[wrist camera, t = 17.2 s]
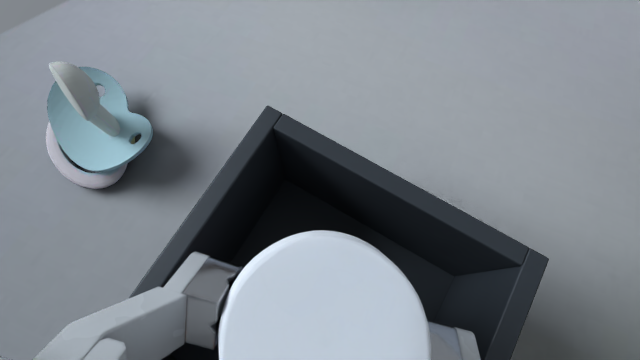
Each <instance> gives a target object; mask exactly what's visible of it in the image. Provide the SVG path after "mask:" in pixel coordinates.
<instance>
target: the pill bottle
mask: <svg viewBox="0 0 640 360" xmlns="http://www.w3.org/2000/svg"><path fill="white" fill-rule="evenodd" d="M218 346H219V360H431V339H430V331H429V325H428V322H427V318H426V315H425V312H424V309H423V305H422V303H421V301H420V298H419V296H418V294H417V293H416V291H415V289H414V288H413V286H412V284H411V283H410V282H409V280H408V279H407V277H406V276H405V275H404V274H403V272H402V271H401V270H400V269H399V268H398V267H397V266H396V265H395V264H394V263H393V262H392V261H391V260H389V259H388V258H387V257H386V256H385V255H384V254H383V253H382V252H380V251H379V250H378V249H376V248H375V247H374V246H372V245H371V244H369V243H367V242H365V241H363V240H361V239H359V238H357V237H354V236H352V235H348V234H345V233H341V232H335V231H326V230H315V231H308V232H302V233H298V234H294V235H291V236H289V237H286V238H284V239H281V240H280V241H278V242H276V243H274V244H272V245H271V246H269V247H267V248H266V249H264V250H263V251H262V252H260V253H259V254H258V255H256V256H255V257H254V258H253V259H252V260H251V261H250V262H249V263H248V264H247V265H246V266H245V267H244V269H243V270H242V271H241V272H240V274H239V275H238V277H237V278H236V280H235V281H234V283H233V285H232V287H231V289H230V291H229V293H228V295H227V298H226V300H225V303H224V306H223V310H222V314H221V318H220V324H219V334H218Z"/></svg>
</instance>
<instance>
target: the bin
mask: <svg viewBox="0 0 640 360" xmlns="http://www.w3.org/2000/svg"><path fill="white" fill-rule="evenodd" d="M315 230H326V231H335V232H341V233H345V234H348V235H352V236H354V237H357V238H359V239H361V240H363V241H365V242H367V243H369V244H371V245H372V246H374V247H375V248H376V249H378V250H379V251H380V252H382V253H383V254H384V255H385V256H386V257H387V258H388V259H389V260H391V261H392V262H393V263H394V264H395V265H396V266H397V267H398V268H399V269H400V270H401V271H402V272H403V274H404V275H405V276H406V277H407V279H408V280H409V282H410V283H411V284H412V286H413V288H414V289H415V291H416V293H417V294H418V296H419V298H420V301H421V303H422V305H423V309H424V312H425V315H426V318H427V320H431V321H435V322H438V323H442V324H445V325H449V326H452V327H457V328H460V329H464V330H467V331H471V332H473V334H474V335H475V338H476V342H477V346H478V350H479V354H480V358H481V360H510V358H511V356H512V353H513V351H514V348H515V345H516V343H517V340H518V338H519V335H520V333H521V330H522V327H523V325H524V322H525V320H526V317H527V315H528V312H529V309H530V307H531V304H532V302H533V299H534V297H535V294H536V291H537V289H538V286H539V284H540V281H541V278H542V276H543V273H544V271H545V268H546V266H547V263H548V260H549V259H548V258H547V257H545V256H543V255H542V254H540V253H538V252H536V251H534V250H532V249H530V248H529V247H527V246H525V245H523V244H522V243H520V242H518V241H516V240H514V239H512V238H511V237H509V236H507V235H505V234H503V233H501V232H500V231H498V230H496V229H494V228H492V227H490V226H489V225H487V224H485V223H483V222H481V221H479V220H478V219H476V218H474V217H472V216H470V215H468V214H467V213H465V212H463V211H461V210H459V209H457V208H456V207H454V206H452V205H450V204H448V203H446V202H445V201H443V200H441V199H439V198H437V197H435V196H434V195H432V194H430V193H428V192H426V191H424V190H423V189H421V188H419V187H417V186H415V185H413V184H412V183H410V182H408V181H406V180H404V179H402V178H401V177H399V176H397V175H395V174H393V173H391V172H390V171H388V170H386V169H384V168H382V167H380V166H379V165H377V164H375V163H373V162H371V161H369V160H368V159H366V158H364V157H362V156H360V155H358V154H357V153H355V152H353V151H351V150H349V149H347V148H346V147H344V146H342V145H340V144H338V143H336V142H335V141H333V140H331V139H329V138H327V137H325V136H324V135H322V134H320V133H318V132H316V131H314V130H313V129H311V128H309V127H307V126H305V125H303V124H302V123H300V122H298V121H296V120H294V119H292V118H291V117H289V116H287V115H285V114H283V115H282V113H281V112H279V111H277V110H275V109H273V108H272V107H270V106H266V108H265V109H264V111H263V112H262V113H261V115H260V116H259V117H258V119H257V120H256V122H255V123H254V124H253V126H252V127H251V129H250V130H249V131H248V133H247V134H246V136H245V137H244V138H243V140H242V141H241V143H240V144H239V145H238V147H237V148H236V150H235V151H234V152H233V154H232V155H231V156H230V158H229V159H228V161H227V162H226V163H225V165H224V166H223V168H222V169H221V170H220V172H219V173H218V175H217V176H216V177H215V179H214V180H213V182H212V183H211V184H210V186H209V187H208V189H207V190H206V191H205V193H204V194H203V195H202V197H201V198H200V200H199V201H198V202H197V204H196V205H195V207H194V208H193V209H192V211H191V212H190V214H189V215H188V216H187V218H186V219H185V221H184V222H183V223H182V225H181V226H180V228H179V229H178V230H177V232H176V233H175V234H174V236H173V237H172V239H171V240H170V241H169V243H168V244H167V246H166V247H165V248H164V250H163V251H162V253H161V254H160V255H159V257H158V258H157V260H156V261H155V262H154V264H153V265H152V267H151V268H150V269H149V271H148V272H147V273H146V275H145V276H144V278H143V279H142V280H141V282H140V283H139V285H138V286H137V287H136V289H135V290H134V292H133V293H132V294H131V296H130V297H129V298H132V297H134V296H136V295H139V294H141V293H144V292H146V291H149V290H151V289H153V288H156V287H162V288H163V287H164V286H165V285H166V284H167V282H168V281H169V280H170V279H171V277H172V276H173V275H174V274H175V273H176V271H177V270H178V269H179V268H180V266H181V265H182V264H183V263H184V261H185V260H186V259H187V258H188V257H189V255H190V254H191V253H193V252H199V253H202V254H205V255H208V256H212V257H215V258H219V259H222V260H225V261H228V262H231V263H234V264H238V265H241V266H242V267H243V269H244V267H245V266H246V265H247V264H248V263H249V262H250V261H251V260H252V259H253V258H254V257H255V256H256V255H258V254H259V253H260V252H262V251H263V250H264V249H266V248H267V247H269V246H271V245H272V244H274V243H276V242H278V241H280V240H281V239H284V238H286V237H289V236H291V235H294V234H298V233H302V232H308V231H315ZM161 360H219V346H218V343H217V345H216V347H215V349H214V350H212V349H208V348H204V347H201V346H197V345H194V344H190V343H186V342H184V344H183V345H182V346H181V347H179V348H178V349H176V350H175V351H173V352H172V353H170V354H169V355H167V356H166V357H164V358H163V359H161Z"/></svg>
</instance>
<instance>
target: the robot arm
mask: <svg viewBox="0 0 640 360" xmlns="http://www.w3.org/2000/svg"><path fill="white" fill-rule="evenodd" d="M242 270H243V267H242V266H241V265H238V264H234V263H231V262H228V261H225V260H222V259H219V258H215V257H212V256H208V255H205V254H202V253H199V252H193V253H191V254H190V255H189V257H188V258H187V259H186V260H185V261H184V263H183V264H182V265H181V266H180V268H179V269H178V270H177V271H176V273H175V274H174V275H173V276H172V277H171V279H170V280H169V281H168V282H167V284H166V285H165V286H164V287H163V288H162V287H156V288H153V289H151V290H149V291H146V292H144V293H141V294H139V295H136V296H134V297H132V298H129V299H127V300H124V301H122V302H120V303H117V304H115V305H112V306H110V307H108V308H105V309H103V310H100V311H98V312H95V313H93V314H91V315H88V316H86V317H83V318H81V319H79V320H76V321H74V322H71V323H69V324H68V325H67V326H66V327H65V328H64V329H63V330H62V331H61V332H60V333H59V334H58V335H57V336H56V337H55V338H54V339H53V340H52V341H51V342H50V343H49V344H48V345H47V346H46V347H45V348H44V349H43V350H42V351H41V352H40V353H39V354H38V355H37V356H36V357H35V358H34V359H33V360H161V359H163V358H164V357H166V356H167V355H169V354H170V353H172V352H173V351H175V350H176V349H178V348H179V347H181V346H182V345H183V344H184V342H186V343H190V344H194V345H197V346H201V347H204V348H208V349H212V350H214V349H215V347H216V345H217V343H218V334H219V324H220V318H221V314H222V310H223V306H224V303H225V300H226V298H227V295H228V293H229V291H230V289H231V287H232V285H233V283H234V281H235V280H236V278H237V277H238V275H239V274H240V272H241V271H242ZM427 322H428V325H429V331H430V339H431V360H481V358H480V354H479V350H478V346H477V342H476V338H475V335H474V334H473V332H471V331H467V330H464V329H460V328H457V327H452V326H449V325H445V324H442V323H438V322H435V321H431V320H427ZM0 360H11V359H8V358H5V357H2V356H0Z"/></svg>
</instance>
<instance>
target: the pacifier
mask: <svg viewBox="0 0 640 360" xmlns="http://www.w3.org/2000/svg"><path fill="white" fill-rule="evenodd" d="M49 67H50V70H51V72H52V74H53V76H54V78H55V80H56V81H55V83H54V84H53V86H52V88H51V91H50V93H49V96H48V100H47V102H48V106H47V110H48V117H49V121H50V122H49V123H48V127H47V131H46V146H47V149H48V153H49V156H50V158H51V160H52V161H53V163H54V165H55V167H56V168H57V169H58V170H59V171H60V172H61V174H62V175H63V176H64V177H66V178H67V179H69V180H70V181H71V182H73V183H75V184H77V185H80V186H82V187H85V188H92V189H98V188H105V187H108V186H110V185H112V184H114V183H116V182H117V181H118V180H119V179H120V178H121V177H122V175H123V173H124V171H125V169H126V167H127V163H128V162H130V161H131V160H133V159H134V158H136V157H137V156H138V155H139V154H140V153H141V152H143V151H144V150H145V148H146V147H147V146H148V144H149V143H150V141H151V139H152V136H153V129H152V126H151V124H150V122H149V121H148V120H147V119H146V118H145V117H143V116H142V115H139V114H136V113H131V112H129V110H128V101H127V97H126V95H125V93H124V91H123V89H122V88H121V86H120V85H119V83H118V82H117V81H116V80H115V79H114V78H113V77H111V76H110V75H108V74H107V73H105V72H103V71H101V70H98V69H95V68H90V67H77V66H75V65H72V64H70V63H66V62H53V63H50V64H49ZM97 85H101V86H104V88H105V95H104V96H103V97H100V98H99V93H98V90H97V88H96V86H97ZM138 134H141V139H140V140H139V141H138V142H136V143H135V136H136V135H138ZM68 156H69V157H70V159H71V160H73V161H74V162H75V163H76V164H77V165H79V166H81V167H83V168H85V169H87V170H91V171H95V172H101V173H87V172H84V171H82V170H80V169H79V168H78V167H76V166H75V165H74V164H73V162H72V161H71V160H70V159H69V157H68Z"/></svg>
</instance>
